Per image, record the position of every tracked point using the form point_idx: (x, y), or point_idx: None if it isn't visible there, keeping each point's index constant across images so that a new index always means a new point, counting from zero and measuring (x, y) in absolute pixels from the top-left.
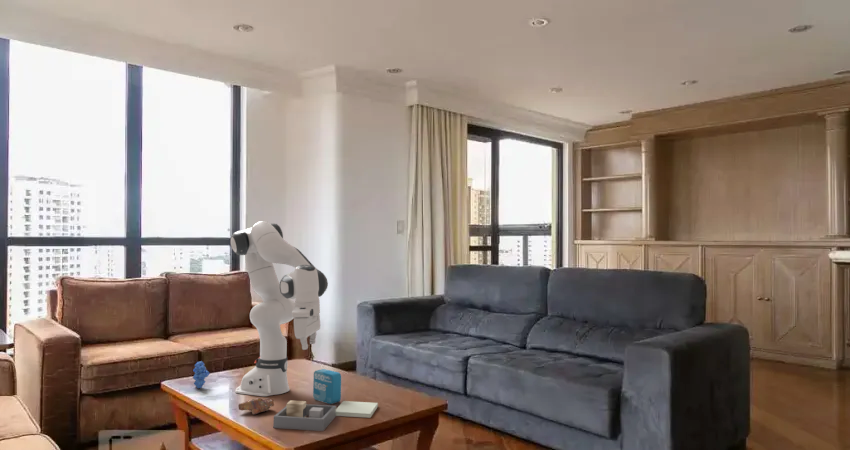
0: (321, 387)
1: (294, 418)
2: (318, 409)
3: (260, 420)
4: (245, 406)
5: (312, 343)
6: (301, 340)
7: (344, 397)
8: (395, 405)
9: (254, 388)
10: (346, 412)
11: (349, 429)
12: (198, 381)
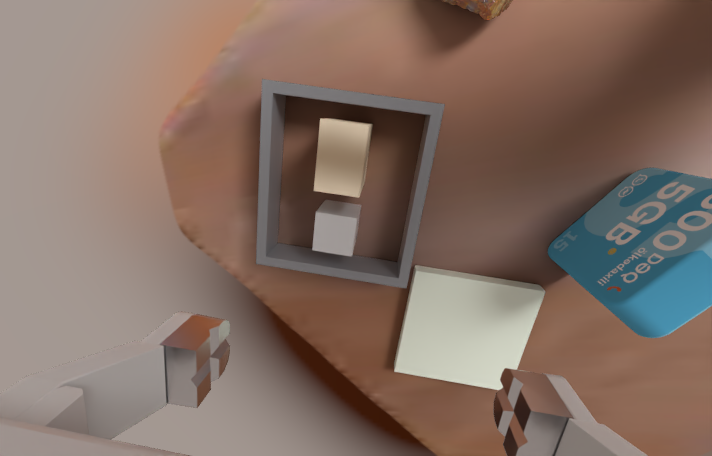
0: (635, 220)
1: (260, 165)
2: (329, 242)
3: (355, 3)
4: None
5: (500, 397)
6: (24, 397)
7: None
8: None
9: None
10: (408, 308)
11: (291, 315)
12: None
